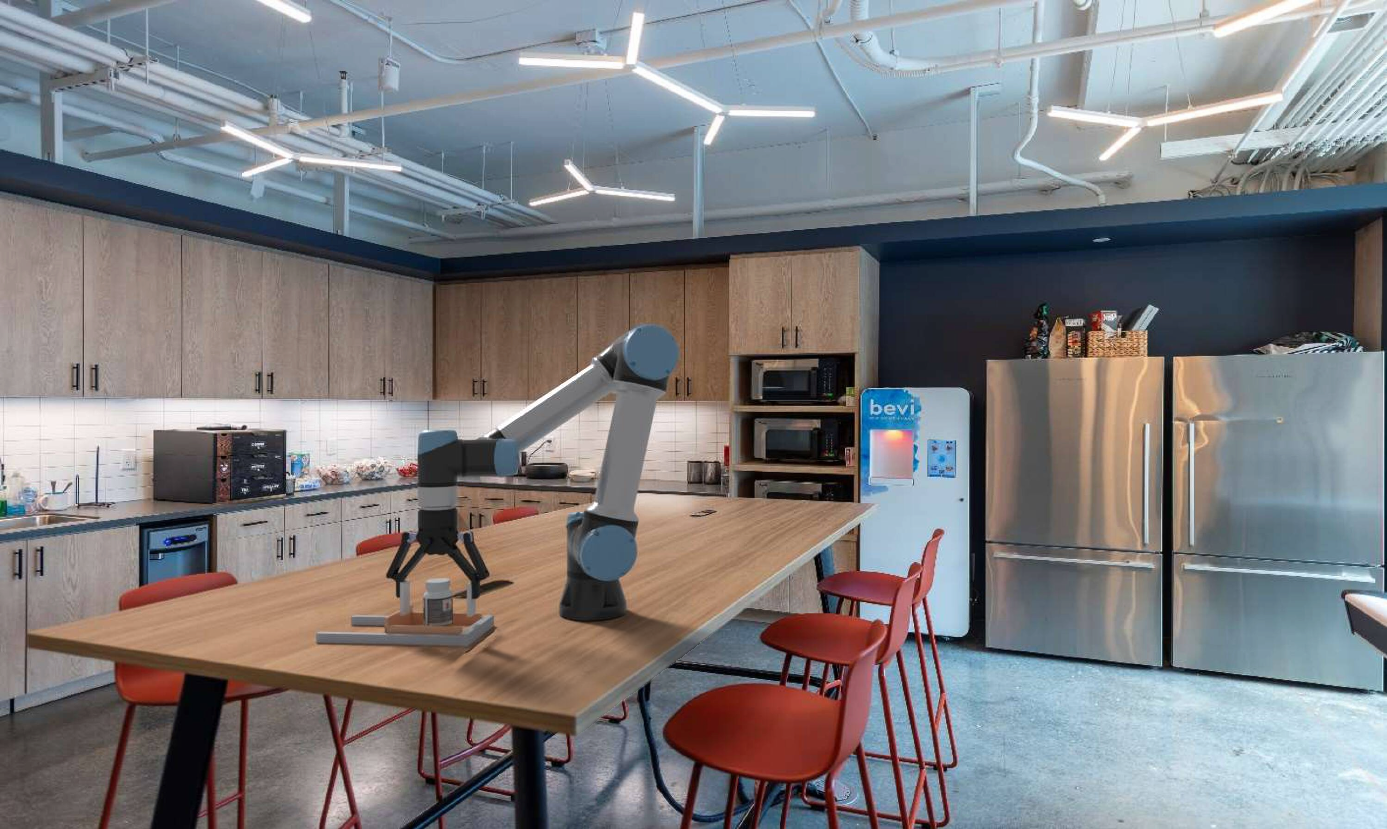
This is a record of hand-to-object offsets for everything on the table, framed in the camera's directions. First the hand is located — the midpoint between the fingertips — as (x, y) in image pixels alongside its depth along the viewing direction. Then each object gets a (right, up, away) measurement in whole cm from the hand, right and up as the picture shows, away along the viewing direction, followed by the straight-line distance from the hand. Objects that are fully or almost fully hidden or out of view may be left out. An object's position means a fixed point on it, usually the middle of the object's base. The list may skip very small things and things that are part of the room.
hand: (438, 614), depth 162 cm
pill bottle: (0, -3, 0) cm, 3 cm away
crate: (-1, -4, 0) cm, 4 cm away
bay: (-6, -5, +1) cm, 8 cm away
